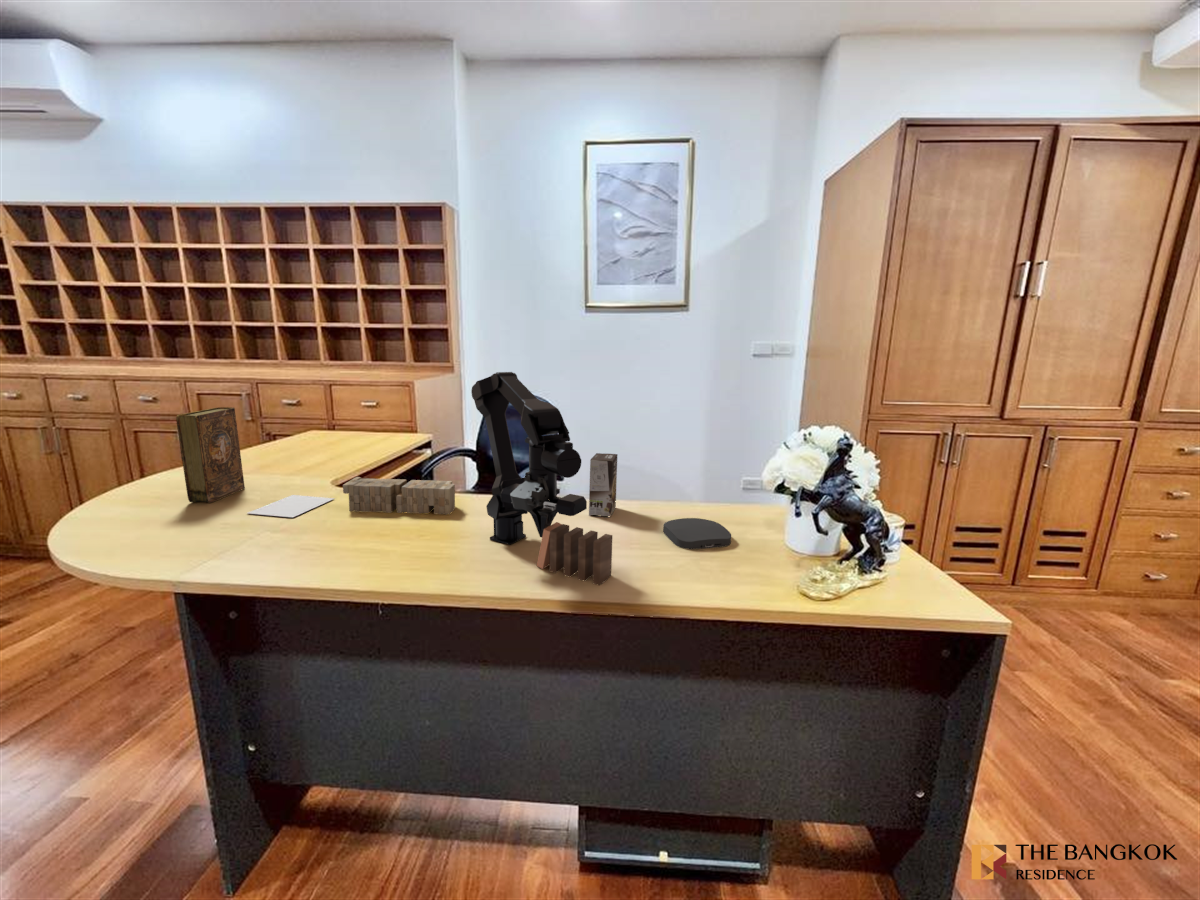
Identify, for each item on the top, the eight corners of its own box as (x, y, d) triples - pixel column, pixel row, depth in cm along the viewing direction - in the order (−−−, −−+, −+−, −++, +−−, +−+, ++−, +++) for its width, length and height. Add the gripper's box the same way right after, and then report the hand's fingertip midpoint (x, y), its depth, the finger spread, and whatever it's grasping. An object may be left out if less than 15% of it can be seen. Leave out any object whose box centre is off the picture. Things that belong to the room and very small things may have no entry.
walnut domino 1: (549, 571, 111) (549, 531, 109) (562, 562, 115) (563, 523, 113) (555, 573, 110) (556, 532, 108) (568, 564, 114) (569, 525, 112)
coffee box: (610, 517, 144) (612, 460, 140) (588, 515, 145) (589, 459, 141) (616, 507, 152) (618, 453, 149) (594, 505, 153) (596, 452, 150)
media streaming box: (658, 529, 137) (659, 518, 136) (709, 526, 140) (710, 515, 140) (680, 552, 123) (681, 540, 122) (736, 547, 127) (737, 535, 126)
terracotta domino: (536, 566, 112) (543, 529, 109) (549, 557, 116) (556, 521, 114) (542, 569, 111) (550, 532, 109) (555, 560, 116) (562, 524, 113)
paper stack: (364, 503, 151) (364, 500, 151) (302, 534, 127) (302, 531, 127) (292, 497, 155) (292, 494, 155) (219, 526, 131) (219, 523, 131)
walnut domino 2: (563, 575, 109) (564, 534, 107) (576, 566, 113) (576, 527, 111) (570, 576, 108) (570, 536, 106) (582, 568, 112) (583, 528, 111)
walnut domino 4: (592, 583, 106) (593, 541, 104) (604, 573, 110) (605, 533, 108) (599, 585, 105) (600, 543, 103) (611, 575, 109) (612, 535, 107)
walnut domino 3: (577, 579, 107) (578, 538, 105) (590, 570, 112) (590, 530, 110) (584, 581, 107) (585, 539, 105) (596, 571, 111) (597, 531, 109)
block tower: (457, 509, 151) (357, 502, 151) (457, 481, 149) (356, 474, 149) (449, 518, 143) (343, 511, 144) (449, 489, 141) (342, 482, 142)
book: (230, 487, 162) (219, 406, 157) (247, 487, 162) (237, 407, 157) (188, 503, 146) (175, 415, 141) (208, 504, 146) (195, 415, 141)
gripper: (482, 468, 107) (484, 540, 110) (558, 482, 98) (558, 559, 102) (516, 458, 117) (517, 524, 120) (588, 470, 108) (587, 541, 111)
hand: (542, 536), depth 113 cm, fingers closed
